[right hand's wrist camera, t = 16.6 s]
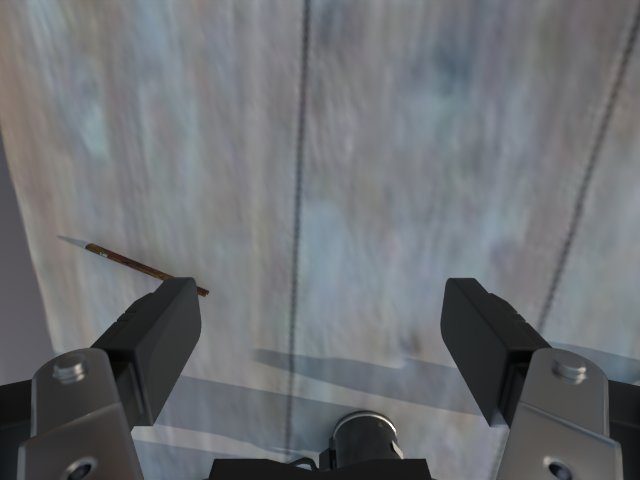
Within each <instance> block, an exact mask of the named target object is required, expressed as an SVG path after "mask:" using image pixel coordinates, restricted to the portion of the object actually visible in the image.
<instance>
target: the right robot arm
mask: <svg viewBox="0 0 640 480" xmlns="http://www.w3.org/2000/svg"><path fill="white" fill-rule="evenodd" d="M440 326H441V334H442V338H443V341H444V343H445V345H446V346H447V348H448V350H449V352H450V354H451V356H452V358H453V359H454V361H455V363H456V365H457V367H458V369H459V371H460V372H461V374H462V376H463V378H464V380H465V382H466V384H467V385H468V387H469V389H470V391H471V393H472V395H473V397H474V399H475V400H476V402H477V404H478V406H479V408H480V410H481V412H482V413H483V415H484V417H485V419H486V421H487V423H488V425H489V426H490V427H509V429H510V432H509V436H508V439H507V443H506V446H505V450H504V453H503V457H502V460H501V463H500V467H499V470H498V474H497V477H496V480H640V386H636V385H631V384H626V383H621V382H616V381H611V380H608V379H607V377H606V375H605V373H604V372H603V371H602V370H601V369H600V368H599V367H598V366H597V365H595V364H594V363H593V362H591V361H589V360H588V359H586V358H584V357H582V356H580V355H578V354H575V353H572V352H569V351H566V350H562V349H556V348H552V347H551V346H550V345H549V344H548V343H547V342H546V341H545V340H544V339H543V338H542V337H541V336H540V335H539V334H538V333H537V332H536V331H535V330H534V329H533V327H532V326H531V325H530V324H529V323H526V320H525V319H524V318H523V317H522V316H521V315H520V314H517V311H516V310H515V309H514V308H513V307H512V306H511V305H510V304H509V303H508V302H507V301H505V300H503V299H501V298H500V297H498V296H496V295H494V294H493V293H488V292H487V291H486V290H485V289H484V288H483V287H482V286H481V284H480V283H479V282H478V281H477V280H476V279H475V278H449V279H448V280H447V282H446V286H445V293H444V300H443V307H442V314H441V323H440ZM200 333H201V315H200V308H199V301H198V293H197V286H196V282H195V280H194V278H192V277H169V278H167V279H166V280H165V281H164V282H163V283H162V284H161V285H160V286H159V287H158V288H157V290H156V291H155V292H154V293H149V294H147V295H145V296H143V297H142V298H140V299H138V300H136V301H135V302H134V303H133V304H132V305H131V306H130V307H129V308H128V309H127V310H126V311H125V313H123V314H122V315H121V316H120V317H119V318H118V319H117V322H114V323H113V324H112V325H111V326H110V327H109V328H108V329H107V330H106V332H105V333H104V334H103V335H102V336H101V337H100V338H99V339H98V340H97V341H96V342H95V343H94V344H93V345H92V346H91V347H90V348H84V349H78V350H74V351H71V352H68V353H65V354H62V355H60V356H58V357H56V358H54V359H52V360H51V361H49V362H47V363H46V364H45V365H43V366H42V367H41V368H40V369H39V370H38V371H37V372H36V373H35V375H34V377H33V379H31V380H26V381H21V382H16V383H11V384H7V385H2V386H0V480H144V477H143V474H142V470H141V467H140V463H139V460H138V457H137V453H136V450H135V446H134V443H133V439H132V436H131V431H132V429H133V427H134V426H153V425H154V423H155V421H156V419H157V417H158V415H159V413H160V411H161V410H162V408H163V406H164V404H165V402H166V400H167V398H168V396H169V395H170V393H171V391H172V389H173V387H174V385H175V383H176V381H177V379H178V378H179V376H180V374H181V372H182V370H183V368H184V366H185V364H186V363H187V361H188V359H189V357H190V355H191V353H192V351H193V349H194V347H195V346H196V344H197V342H198V340H199V337H200ZM401 458H402V459H401ZM300 464H308V465H310V466H311V469H312V471H311V470H307V469H303V468H300V467H296V466H297V465H300ZM204 480H436V479H433V478H431V475H430V472H429V469H428V465H427V462H426V459H404V458H403V453H402V452H401V451H400V449H399V446H398V442H397V435H396V431H395V427H394V425H393V423H392V422H391V421H390V420H389V419H388V418H387V417H385V416H383V415H381V414H379V413H375V412H369V411H363V412H356V413H353V414H350V415H348V416H346V417H344V418H343V419H342V420H341V421H340V422H339V423H338V424H337V425H336V427H335V429H334V434H333V437H332V438H331V439H329V448H328V449H326V450H325V451H324V452H322V453H321V454H319V469H318V468H317V467H316V464H315V462H314V461H313V460H312V459H310V458H302V459H299V460H297V461H295V462H292V463H290V464H284V463H280V462H277V461H273V460H269V459H214V462H213V465H212V469H211V472H210V475H209V478H207V479H204Z"/></svg>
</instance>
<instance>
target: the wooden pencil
mask: <svg viewBox="0 0 640 480" xmlns="http://www.w3.org/2000/svg"><path fill="white" fill-rule="evenodd" d="M85 249H87V250H89V251H92V252H94V253H97V254H99V255H102V256H104V257H106V258H109V259H111V260H114V261H116V262H119V263H122V264H124V265H127V266H129V267H131V268H134V269H136V270H139V271H141V272H144V273H146V274H149V275H151V276H153V277H156V278H159V279H161V280H164V281H165V280H166V279H167V278H169V277H173V276H170V275H168V274H165V273H163V272H160V271H158V270H155V269H153V268H150V267H148V266H145V265H143V264H140V263H138V262H136V261H133V260H131V259H128V258H126V257H123V256H121V255H119V254H116V253H114V252H111V251H109V250H106V249H104V248H102V247H99V246H97V245H94V244H92V243H91V244H88V245H87V246H86V247H85ZM197 293H198V295H201V296H204V297H205V296H206V294H207V295H208V293H209V291H208V290H205V289H202V288H200V287H197Z"/></svg>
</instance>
